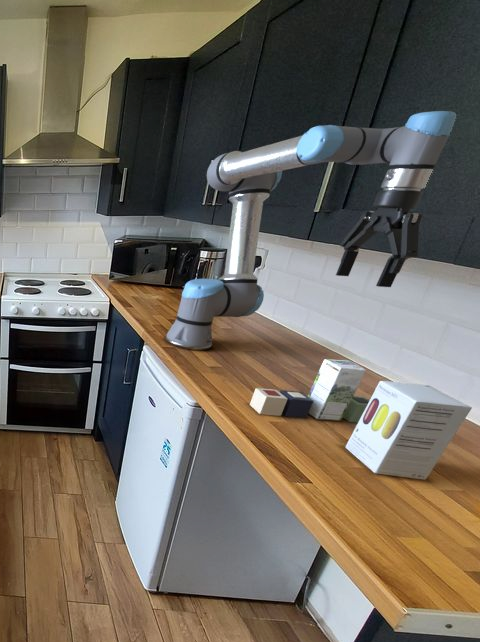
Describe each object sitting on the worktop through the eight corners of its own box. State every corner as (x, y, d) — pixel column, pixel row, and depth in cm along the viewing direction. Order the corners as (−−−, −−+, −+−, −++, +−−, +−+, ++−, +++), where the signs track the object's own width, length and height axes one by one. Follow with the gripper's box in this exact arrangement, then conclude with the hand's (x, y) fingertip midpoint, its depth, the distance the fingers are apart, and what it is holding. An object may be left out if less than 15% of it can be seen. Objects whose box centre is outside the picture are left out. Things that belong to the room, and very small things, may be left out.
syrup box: (324, 410, 104) (348, 359, 99) (341, 422, 99) (367, 368, 93) (301, 408, 105) (323, 357, 99) (317, 420, 100) (341, 367, 94)
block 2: (273, 406, 105) (280, 389, 103) (293, 408, 105) (301, 391, 103) (284, 416, 101) (292, 398, 99) (306, 418, 100) (314, 400, 98)
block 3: (334, 411, 104) (343, 394, 102) (355, 413, 103) (364, 396, 101) (349, 422, 99) (358, 403, 97) (371, 423, 99) (380, 405, 97)
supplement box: (343, 447, 89) (377, 379, 82) (390, 452, 88) (428, 383, 81) (375, 474, 80) (416, 401, 73) (428, 481, 79) (475, 406, 72)
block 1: (249, 404, 106) (255, 387, 104) (269, 406, 105) (276, 389, 103) (259, 414, 101) (266, 396, 99) (280, 416, 101) (288, 398, 99)
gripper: (344, 189, 105) (313, 271, 114) (433, 189, 82) (385, 290, 91) (375, 190, 104) (341, 272, 113) (473, 190, 82) (422, 293, 90)
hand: (361, 281), depth 102 cm, fingers open, 13 cm apart
